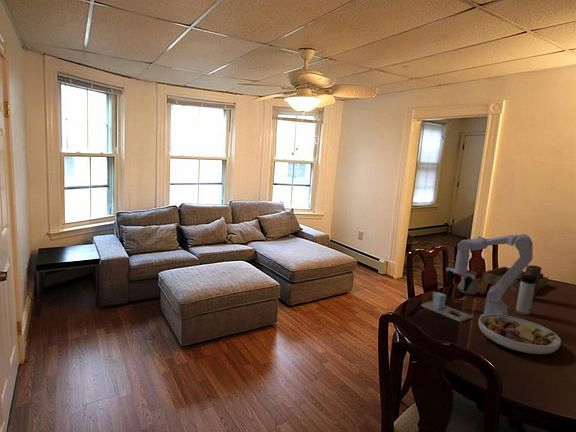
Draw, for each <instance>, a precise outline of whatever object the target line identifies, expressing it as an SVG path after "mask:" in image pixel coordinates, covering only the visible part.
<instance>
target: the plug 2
mask: <svg viewBox="0 0 576 432" xmlns="http://www.w3.org/2000/svg"><path fill="white" fill-rule="evenodd" d="M446 299H447V294H445V293H442V292H438V293H434V298H433V306H432V307H434V308H437V309H439V310H443V309H444V307H445V306H446V301H447V300H446Z"/></svg>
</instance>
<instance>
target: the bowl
mask: <svg viewBox="0 0 576 432" xmlns="http://www.w3.org/2000/svg"><path fill="white" fill-rule="evenodd" d="M477 324H478V327H479V330H480V331H481V333H482V334H483V335H484V336H485V337H487V339H489V340H490V341H493V342H494V343H496V344H498V345H500V346H503V347H505V348H507V349H510V350H514V351H517V352H521V353H525V354H534V355H548V354H552V353H555V352H556V351H557V350H558V349H559V348H560V346H561V342H562V339H561V338H560V336H558V334H556V333H555V332H554V331H552V330H551V329H549V328H547V327H546V326H545V327H544V326H543V325H541V324H538V323H536V322H533V321H530V320H528V319H523V318H520V317H515V316H512V315H507V316H506V315H497V314H489V315H483V316H480V317H478V323H477Z"/></svg>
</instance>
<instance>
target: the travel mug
mask: <svg viewBox="0 0 576 432" xmlns="http://www.w3.org/2000/svg"><path fill="white" fill-rule="evenodd" d="M536 278H537V277H536V276H530V275H523V276H522V278H521V283H520V288H519V292H518V293H517V294H518V295H517V300H516V301H517V302H516V307H515V312H516V313H517V314H520V315H523V316H524V315H525V316H529V315H531V309H532V305H533V304H532V303H533V300H532V299H533V294H534V288H535V282H536Z"/></svg>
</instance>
